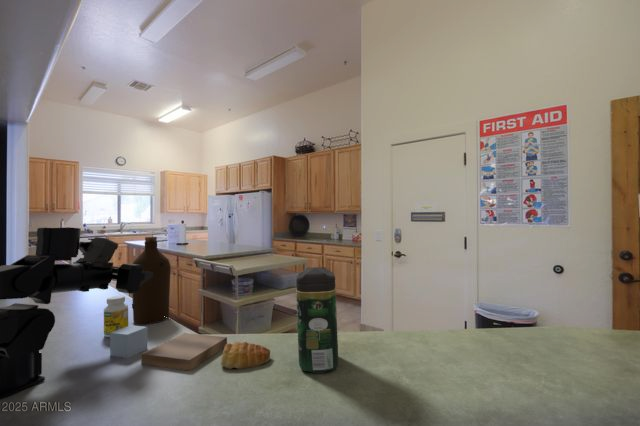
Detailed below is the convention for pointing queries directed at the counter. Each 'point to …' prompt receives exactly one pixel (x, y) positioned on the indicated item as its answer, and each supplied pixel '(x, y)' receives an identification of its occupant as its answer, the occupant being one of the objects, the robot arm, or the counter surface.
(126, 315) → the supplement bottle
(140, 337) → the block
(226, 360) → the pastry
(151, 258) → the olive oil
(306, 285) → the coffee jar
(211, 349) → the base slab
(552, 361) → the counter surface
